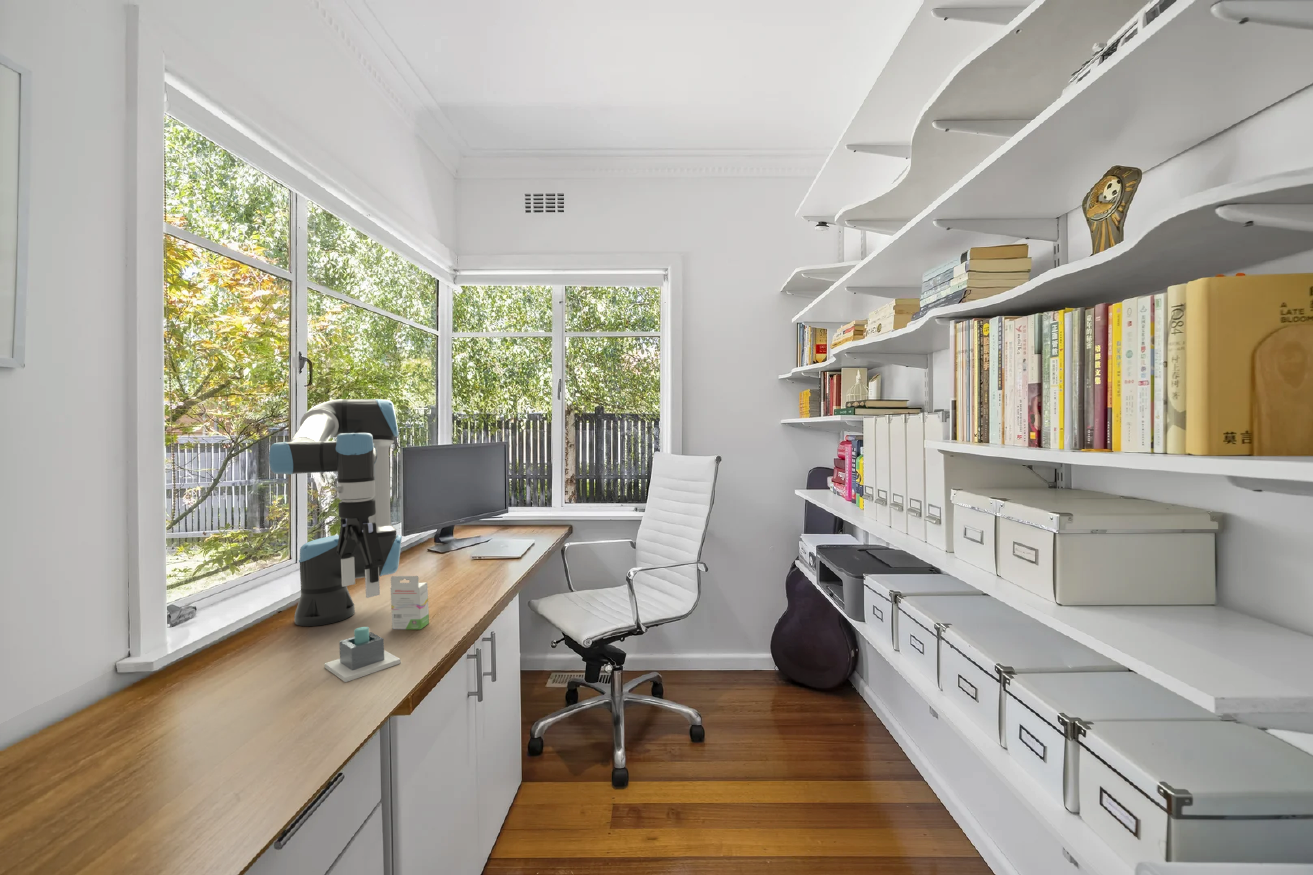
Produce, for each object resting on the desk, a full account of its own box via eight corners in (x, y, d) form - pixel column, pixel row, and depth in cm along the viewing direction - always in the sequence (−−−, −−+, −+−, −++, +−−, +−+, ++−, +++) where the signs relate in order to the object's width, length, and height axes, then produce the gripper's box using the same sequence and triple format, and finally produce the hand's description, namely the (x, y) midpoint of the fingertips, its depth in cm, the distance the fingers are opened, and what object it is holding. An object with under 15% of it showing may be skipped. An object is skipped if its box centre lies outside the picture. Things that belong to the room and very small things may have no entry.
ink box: (430, 623, 155) (428, 571, 154) (420, 629, 150) (419, 576, 149) (401, 622, 155) (399, 571, 155) (390, 629, 150) (389, 575, 150)
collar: (340, 662, 127) (339, 640, 127) (371, 652, 133) (370, 631, 132) (352, 670, 123) (351, 648, 123) (384, 659, 128) (383, 638, 128)
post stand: (324, 667, 127) (323, 631, 127) (378, 650, 136) (377, 616, 136) (345, 682, 119) (343, 643, 119) (400, 663, 128) (399, 627, 128)
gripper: (319, 497, 132) (322, 584, 133) (362, 506, 116) (366, 605, 117) (352, 493, 138) (355, 577, 138) (398, 501, 122) (401, 596, 122)
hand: (360, 590), depth 127 cm, fingers open, 13 cm apart
